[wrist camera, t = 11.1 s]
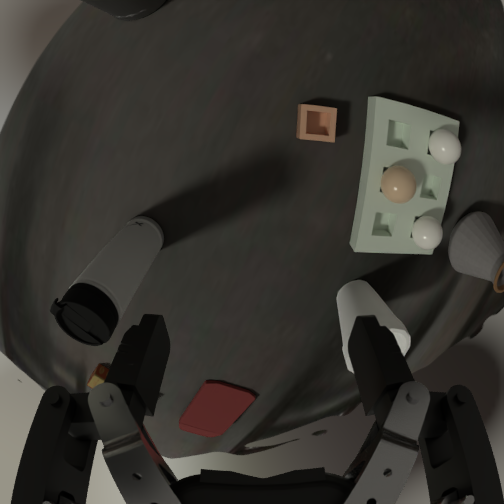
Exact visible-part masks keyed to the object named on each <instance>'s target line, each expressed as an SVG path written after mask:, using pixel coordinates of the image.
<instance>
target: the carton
mask: <svg viewBox="0 0 504 504" xmlns="http://www.w3.org/2000/svg"><path fill="white" fill-rule="evenodd" d="M108 371H109V369H107V368H106V367H104V366H103V365H101V364H100V363H99V364H98V366H97V367H96V369H95V370H94V372H93V373H92V374H91V376H90V378H89V381H88V383H87V386H89V387H91V388H92V389H93V388H94V387H95V386H96V385H98V384H101V383H104V381H105V379H106V376H107V374H108Z"/></svg>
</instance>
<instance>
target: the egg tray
mask: <svg viewBox="0 0 504 504" xmlns="http://www.w3.org/2000/svg"><path fill="white" fill-rule="evenodd" d="M438 129H447V130H450V131H451V132H453V133H454V134H455V135H456V136H457V137H458V132H459V121H456V120H454V119H451V118H448V117H446V116H443V115H440V114H437V113H434V112H431V111H428V110H425V109H422V108H419V107H415V106H412V105H408V104H405V103H401V102H397V101H393V100H389V99H385V98H381V97H377V96H374V97H368V111H367V124H366V135H365V145H364V154H363V163H362V171H361V178H360V185H359V192H358V199H357V205H356V211H355V217H354V223H353V228H352V233H351V239H350V245H351V247H352V248H353V250H354V252H375V253H404V254H432V253H433V250H434V249H431V250H424V249H421V248H420V247H418V246H417V245H416V244H415V242H414V240H413V237H412V227H413V225H414V223H415V221H416V220H417V219H419V218H420V217H422V216H431V217H434V218H435V219H437V220H438V221H439V223H440V224H441V223H442V219H443V215H444V211H445V207H446V203H447V198H448V194H449V189H450V184H451V179H452V174H453V168H454V163H453V164H450V165H444V164H441V163H439V162H437V161H436V160H435V159H434V158H433V157H432V155H431V153H430V151H429V146H428V143H429V138H430V136H431V134H432V133H433V132H434V131H436V130H438ZM392 166H403V167H406V168H407V169H409V170H410V171H411V172H412V173H413V175H414V177H415V179H416V183H417V189H416V193H415V195H414V197H413V198H412V199H411V200H410V201H408V202H406V203H403V204H397V203H393V202H391V201H389V200H388V199H387V198H386V197H385V196H384V194H383V192H382V190H381V185H380V183H381V177H382V175H383V173H384V172H385V171H386V170H387V169H388V168H389V167H392Z"/></svg>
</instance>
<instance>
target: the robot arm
mask: <svg viewBox="0 0 504 504" xmlns="http://www.w3.org/2000/svg"><path fill="white" fill-rule="evenodd" d="M81 1H83V2H86V3H88V4H90V5H92V6H94V7H96V8H98V9H100V10H102V11H104V12H106V13H108V14H110V15H112V16H114V17H116V18H118V19H121V20H126V21H131V20H137V19H140V18H143V17H145V16H147V15H150V14H151V13H153V12H154V11H156V10H157V9H158V8H159V7H160V6H162V4H163V3H164V2H165V1H166V0H81ZM169 353H170V339H169V336H168V332H167V329H166V325H165V321H164V318H163V316H162V315H154V314H144V315H143V317H142V319H141V322H140V324H139V326H138V325H133V326H132V327H131V328H130V329H129V330H128V331H127V332H126V333H125V334H124V336H123V339H122V341H121V345H119V348H118V350H117V352H116V355H115V357H114V359H113V362H112V364H111V366H110V369H109V371H108V374H107V376H106V379H105V381H104V383H101V384H98V385H96V386H95V387H94V388H93V389H92V390H91V391H90V392H88V393H77V394H70V393H69V392H68V391H67V390H66V389H65V388H64V387H62V386H53V387H50V388H49V389H47V390H46V391H45V393H44V394H43V396H42V399H41V401H40V404H39V406H38V409H37V412H36V414H35V417H34V420H33V422H32V425H31V428H30V431H29V434H28V437H27V440H26V444H25V447H24V450H23V453H22V457H21V460H20V464H19V468H18V472H17V476H16V480H15V485H14V489H13V494H12V500H11V504H86V498H87V492H88V486H89V480H90V475H91V469H92V464H93V460H94V455H95V450H96V446H97V442H98V440H102V442H103V445H104V449H102V454H103V457H104V459H105V462H106V464H107V466H108V468H109V471H110V473H111V475H112V477H113V479H114V481H115V483H116V485H117V487H118V489H119V491H120V493H121V494H122V496H123V498H124V500H125V502H126V504H395V503H396V501H397V499H398V497H399V495H400V493H401V491H402V489H403V487H404V485H405V483H406V481H407V479H408V476H409V474H410V472H411V469H412V467H413V465H414V462H415V459H416V457H417V454H418V451H419V445H420V449H421V454H422V458H423V463H424V467H425V473H426V478H427V484H428V489H429V496H430V503H431V504H504V499H503V494H502V488H501V483H500V479H499V474H498V471H497V466H496V463H495V458H494V455H493V452H492V448H491V445H490V442H489V438H488V435H487V432H486V429H485V426H484V424H483V421H482V418H481V415H480V413H479V410H478V407H477V405H476V402H475V400H474V398H473V395H472V393H471V392H470V390H469V389H467V388H466V387H465V386H462V385H455V386H453V387H451V388H450V389H449V390H448V392H447V393H443V392H442V393H441V392H429V391H428V390H427V388H426V387H425V386H424V385H423V384H421V383H419V382H415V380H414V379H413V376H412V374H411V371H410V369H409V367H408V365H407V362H406V360H405V358H404V356H403V353H401V349H400V347H399V345H398V342H397V340H396V338H395V336H394V334H393V333H392V332H391V331H390V330H389V329H388V328H387V327H386V326H380V324H379V322H378V320H377V318H376V316H375V315H362V316H357V317H356V319H355V322H354V325H353V328H352V331H351V334H350V337H349V340H348V354H349V357H350V361H351V364H352V368H353V371H354V374H355V378H356V381H357V385H358V389H359V392H360V396H361V400H362V403H363V407H364V411H365V415H366V416H368V415H374V414H375V417H376V421H375V422H374V424H373V426H372V428H371V430H370V432H369V434H368V436H367V438H366V440H365V442H364V443H363V445H362V447H361V449H360V451H359V453H358V454H357V456H356V457H355V459H354V460H353V461H352V463H351V464H350V465H349V467H348V468H347V470H346V471H345V473H344V475H343V476H339V475H336V474H331V473H325V469H324V467H322V468H313V469H304V470H294V471H291V472H287V473H284V474H280V475H276V476H272V477H268V478H257V477H253V476H248V475H243V474H240V473H236V472H232V471H218V470H205V469H201V474H199V475H193V476H189V477H186V478H183V479H181V480H179V481H178V479H177V478H176V476H175V475H174V473H173V472H172V470H171V469H170V468H169V466H168V465H167V464H166V462H165V461H164V459H163V458H162V456H161V455H160V453H159V451H158V450H157V448H156V446H155V444H154V443H153V441H152V439H151V437H150V436H149V434H148V432H147V430H146V428H145V426H144V424H143V420H144V416H145V415H147V416H154V412H155V408H156V403H157V399H158V395H159V391H160V387H161V383H162V380H163V376H164V372H165V368H166V364H167V361H168V357H169ZM417 439H418V441H419V445H417V444H416V443H417Z"/></svg>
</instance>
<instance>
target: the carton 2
mask: <svg viewBox="0 0 504 504" xmlns="http://www.w3.org/2000/svg"><path fill="white" fill-rule="evenodd" d="M254 400H255V395H254V394H253V393H252V392H250V391H249V390H247V389H243V388H240V387H237V386H233V385H230V384H227V383H224V382H221V381H212V380H206V381H205V382H204V383H203V385H202V386H201V388H200V389H199V391H198V392H197V394H196V395H195V397H194V398H193V400H192V401H191V403H190V404H189V406H188V407H187V409H186V410H185V412H184V413H183V414H182V416H181V417H180V420H179V427H180V429H181V430H184V431H187V432H191V433H194V434H198V435H202V436H206V437H215V436H219V435H222V434H223V433H224V432H225V431H226V430H227V429H228V428H229V427H230V426H231V425H232V424H233V423H234V422H235V420H236V419H237V418H238V417H239V416H240V415H241V414H242V413H243V412H244V411H245V410H246V409H247V407H248V406H249V405H250V404H251V403H252V402H253V401H254Z"/></svg>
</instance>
